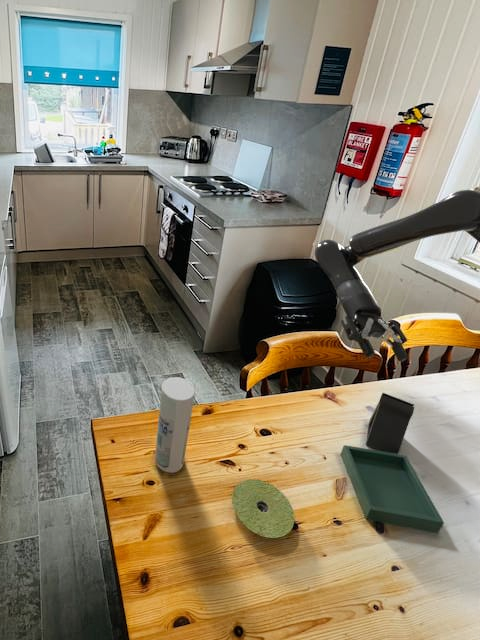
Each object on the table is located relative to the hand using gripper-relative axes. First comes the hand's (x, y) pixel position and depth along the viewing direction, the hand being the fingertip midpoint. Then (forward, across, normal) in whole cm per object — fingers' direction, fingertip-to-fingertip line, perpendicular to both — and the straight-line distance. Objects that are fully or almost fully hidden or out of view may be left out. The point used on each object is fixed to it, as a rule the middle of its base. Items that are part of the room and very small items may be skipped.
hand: (387, 357), depth 90 cm
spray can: (+18, -48, +21) cm, 55 cm away
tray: (+24, -5, +11) cm, 27 cm away
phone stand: (+13, +3, +15) cm, 20 cm away
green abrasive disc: (+29, -32, +14) cm, 46 cm away
